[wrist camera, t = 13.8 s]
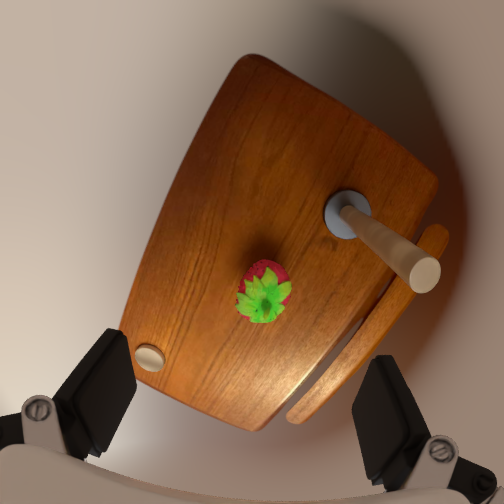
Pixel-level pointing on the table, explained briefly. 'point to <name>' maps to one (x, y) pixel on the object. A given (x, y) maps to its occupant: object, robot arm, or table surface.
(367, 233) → the post
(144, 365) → the puck
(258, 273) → the strawberry
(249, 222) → the table surface
